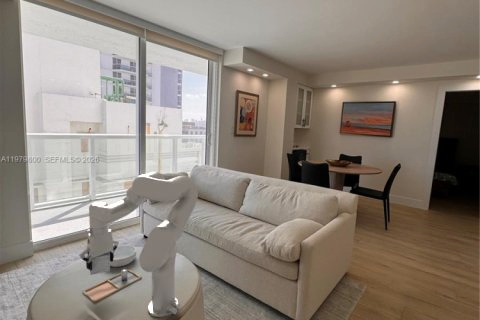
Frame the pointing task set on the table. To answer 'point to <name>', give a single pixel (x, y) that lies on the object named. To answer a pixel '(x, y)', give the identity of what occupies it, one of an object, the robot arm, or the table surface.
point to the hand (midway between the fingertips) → (100, 264)
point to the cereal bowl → (123, 256)
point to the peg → (124, 275)
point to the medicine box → (100, 264)
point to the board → (110, 286)
